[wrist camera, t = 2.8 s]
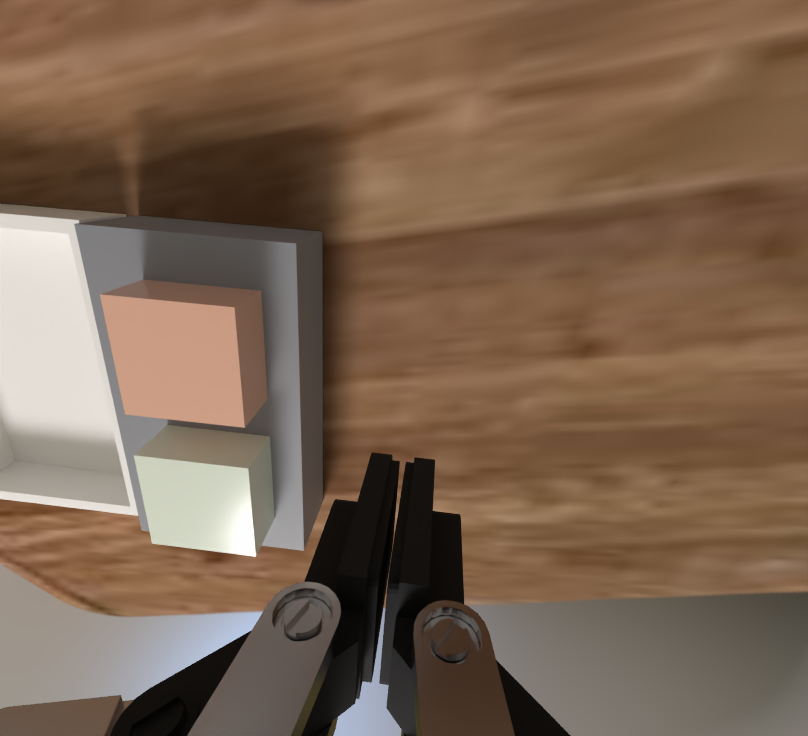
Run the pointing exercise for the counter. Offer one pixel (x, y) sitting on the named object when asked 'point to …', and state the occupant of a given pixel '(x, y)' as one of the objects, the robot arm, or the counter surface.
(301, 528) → the plate
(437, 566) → the robot arm
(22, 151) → the counter surface
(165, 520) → the tile
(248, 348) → the tile
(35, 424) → the tray
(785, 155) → the counter surface
